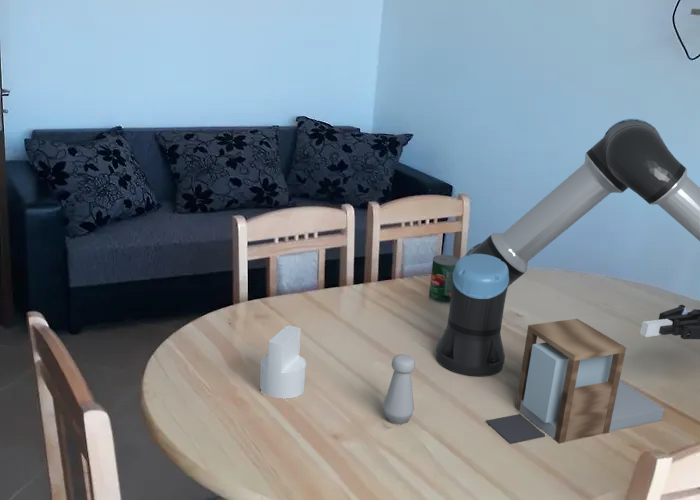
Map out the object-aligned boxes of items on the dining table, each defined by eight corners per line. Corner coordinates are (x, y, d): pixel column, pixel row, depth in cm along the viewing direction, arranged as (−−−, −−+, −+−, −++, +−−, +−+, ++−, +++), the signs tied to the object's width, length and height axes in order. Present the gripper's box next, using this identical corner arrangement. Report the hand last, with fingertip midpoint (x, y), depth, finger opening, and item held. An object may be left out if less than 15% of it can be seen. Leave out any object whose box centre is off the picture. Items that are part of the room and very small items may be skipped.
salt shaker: (390, 429, 144) (396, 366, 140) (377, 413, 149) (383, 352, 145) (418, 424, 147) (425, 362, 142) (404, 409, 152) (410, 349, 147)
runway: (615, 389, 166) (618, 379, 165) (662, 420, 155) (664, 409, 154) (516, 408, 155) (518, 397, 154) (558, 442, 144) (560, 430, 143)
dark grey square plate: (519, 415, 153) (519, 413, 152) (545, 436, 146) (545, 435, 146) (485, 421, 149) (485, 420, 149) (510, 443, 142) (510, 442, 142)
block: (579, 394, 157) (590, 335, 153) (603, 411, 151) (615, 351, 147) (522, 404, 152) (532, 344, 147) (545, 422, 146) (556, 360, 141)
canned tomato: (463, 299, 209) (468, 260, 206) (447, 306, 204) (451, 266, 200) (439, 290, 214) (444, 252, 211) (422, 297, 209) (427, 258, 205)
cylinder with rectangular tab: (293, 404, 150) (296, 348, 146) (251, 393, 153) (253, 338, 149) (311, 384, 158) (315, 331, 155) (271, 374, 161) (274, 321, 157)
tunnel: (562, 398, 160) (577, 318, 155) (608, 432, 149) (626, 347, 143) (515, 407, 155) (528, 325, 150) (559, 443, 144) (574, 355, 138)
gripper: (749, 348, 159) (664, 361, 149) (699, 322, 170) (616, 332, 160) (759, 315, 156) (673, 325, 146) (707, 290, 167) (624, 299, 157)
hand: (644, 329), depth 153 cm, fingers closed
